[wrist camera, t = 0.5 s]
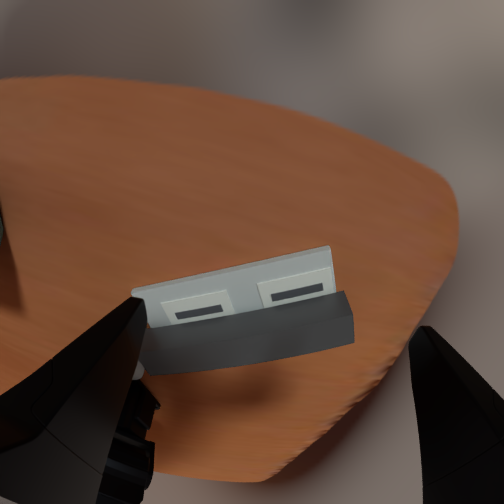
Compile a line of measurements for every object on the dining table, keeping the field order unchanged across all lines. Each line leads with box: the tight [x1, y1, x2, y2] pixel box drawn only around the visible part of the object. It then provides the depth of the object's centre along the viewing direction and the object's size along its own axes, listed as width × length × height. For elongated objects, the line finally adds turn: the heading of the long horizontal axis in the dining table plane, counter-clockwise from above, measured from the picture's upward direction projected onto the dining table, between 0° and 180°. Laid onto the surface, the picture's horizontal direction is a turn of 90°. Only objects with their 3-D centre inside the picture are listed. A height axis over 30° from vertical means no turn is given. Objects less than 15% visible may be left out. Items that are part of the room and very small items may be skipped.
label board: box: [131, 245, 336, 329], centre depth 25 cm, size 19×10×1 cm, turn 105°
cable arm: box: [132, 291, 354, 380], centre depth 23 cm, size 20×3×3 cm, turn 105°
